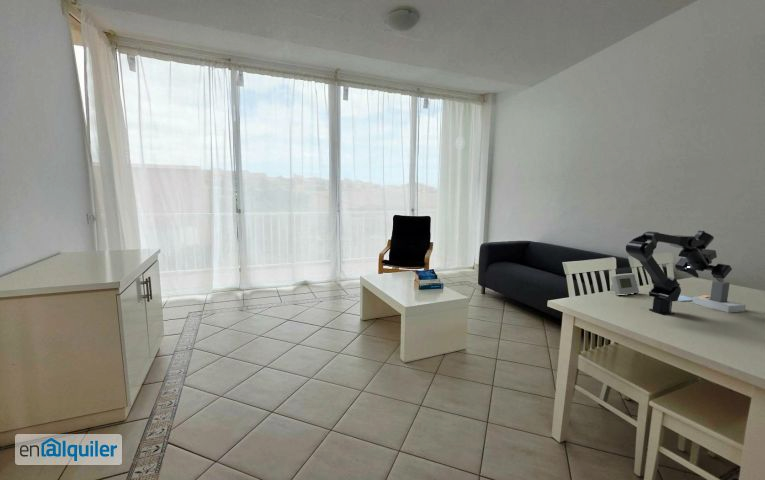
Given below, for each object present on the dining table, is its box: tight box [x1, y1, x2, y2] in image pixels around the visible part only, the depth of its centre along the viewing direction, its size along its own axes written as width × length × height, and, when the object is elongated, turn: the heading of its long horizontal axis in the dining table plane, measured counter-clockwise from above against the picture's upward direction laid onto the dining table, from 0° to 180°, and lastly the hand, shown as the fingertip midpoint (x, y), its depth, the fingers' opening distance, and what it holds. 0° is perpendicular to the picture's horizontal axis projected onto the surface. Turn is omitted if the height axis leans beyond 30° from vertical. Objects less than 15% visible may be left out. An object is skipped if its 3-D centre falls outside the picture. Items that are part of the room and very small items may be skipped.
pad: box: [662, 294, 693, 303], centre depth 164 cm, size 10×10×1 cm
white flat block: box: [691, 294, 747, 313], centre depth 151 cm, size 10×14×4 cm
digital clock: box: [610, 272, 640, 295], centre depth 171 cm, size 16×9×11 cm, turn 97°
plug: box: [710, 278, 730, 303], centre depth 150 cm, size 4×4×14 cm
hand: (709, 279), depth 148 cm, fingers open, 9 cm apart
